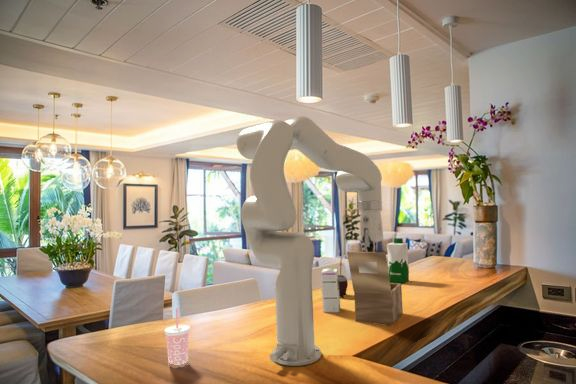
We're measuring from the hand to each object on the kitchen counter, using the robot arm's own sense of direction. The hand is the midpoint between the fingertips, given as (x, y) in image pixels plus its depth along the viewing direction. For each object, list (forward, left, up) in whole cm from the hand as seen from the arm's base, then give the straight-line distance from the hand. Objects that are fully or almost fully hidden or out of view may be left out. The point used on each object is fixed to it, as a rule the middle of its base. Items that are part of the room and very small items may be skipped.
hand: (372, 263), depth 122 cm
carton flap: (-4, 0, -2) cm, 4 cm away
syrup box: (+7, +18, -19) cm, 27 cm away
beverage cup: (-50, +36, -19) cm, 64 cm away
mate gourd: (+28, +23, -19) cm, 41 cm away
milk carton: (+61, +6, -19) cm, 64 cm away
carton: (+5, 0, -19) cm, 19 cm away
